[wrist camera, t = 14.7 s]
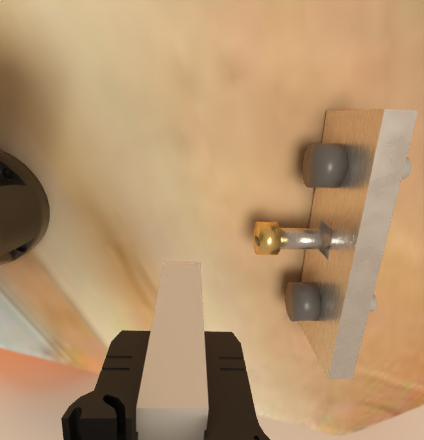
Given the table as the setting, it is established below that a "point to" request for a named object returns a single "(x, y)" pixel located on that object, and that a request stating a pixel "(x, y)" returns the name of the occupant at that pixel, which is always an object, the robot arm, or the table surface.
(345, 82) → the table surface
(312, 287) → the knob far
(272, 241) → the silver and brass cylinder
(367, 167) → the panel
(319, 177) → the knob near
